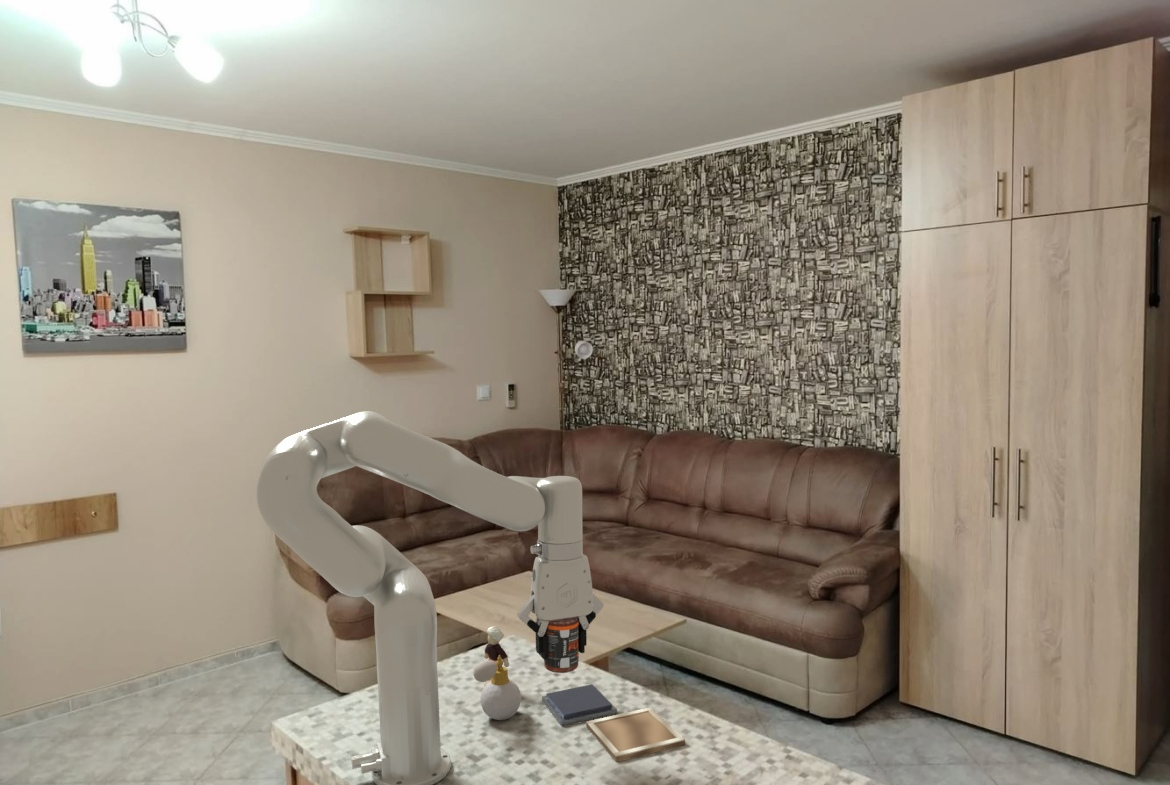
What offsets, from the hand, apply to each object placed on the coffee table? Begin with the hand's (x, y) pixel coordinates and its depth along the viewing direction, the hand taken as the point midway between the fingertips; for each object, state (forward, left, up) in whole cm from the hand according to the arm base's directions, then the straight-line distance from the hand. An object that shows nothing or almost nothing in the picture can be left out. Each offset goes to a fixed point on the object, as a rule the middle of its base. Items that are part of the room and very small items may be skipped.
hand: (561, 652), depth 134 cm
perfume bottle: (-8, +14, -17) cm, 23 cm away
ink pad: (+7, +12, -16) cm, 22 cm away
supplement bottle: (0, 0, -3) cm, 3 cm away
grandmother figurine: (-5, +27, -17) cm, 32 cm away
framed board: (+12, -2, -16) cm, 21 cm away
